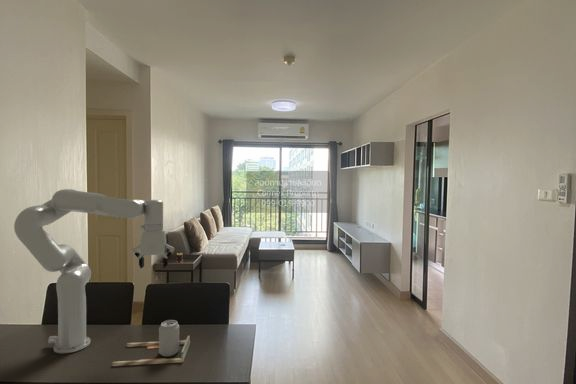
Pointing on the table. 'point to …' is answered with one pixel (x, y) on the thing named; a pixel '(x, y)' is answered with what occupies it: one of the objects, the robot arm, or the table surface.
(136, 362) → the tan bent flat bar
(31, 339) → the table surface
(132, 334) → the table surface
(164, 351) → the can
